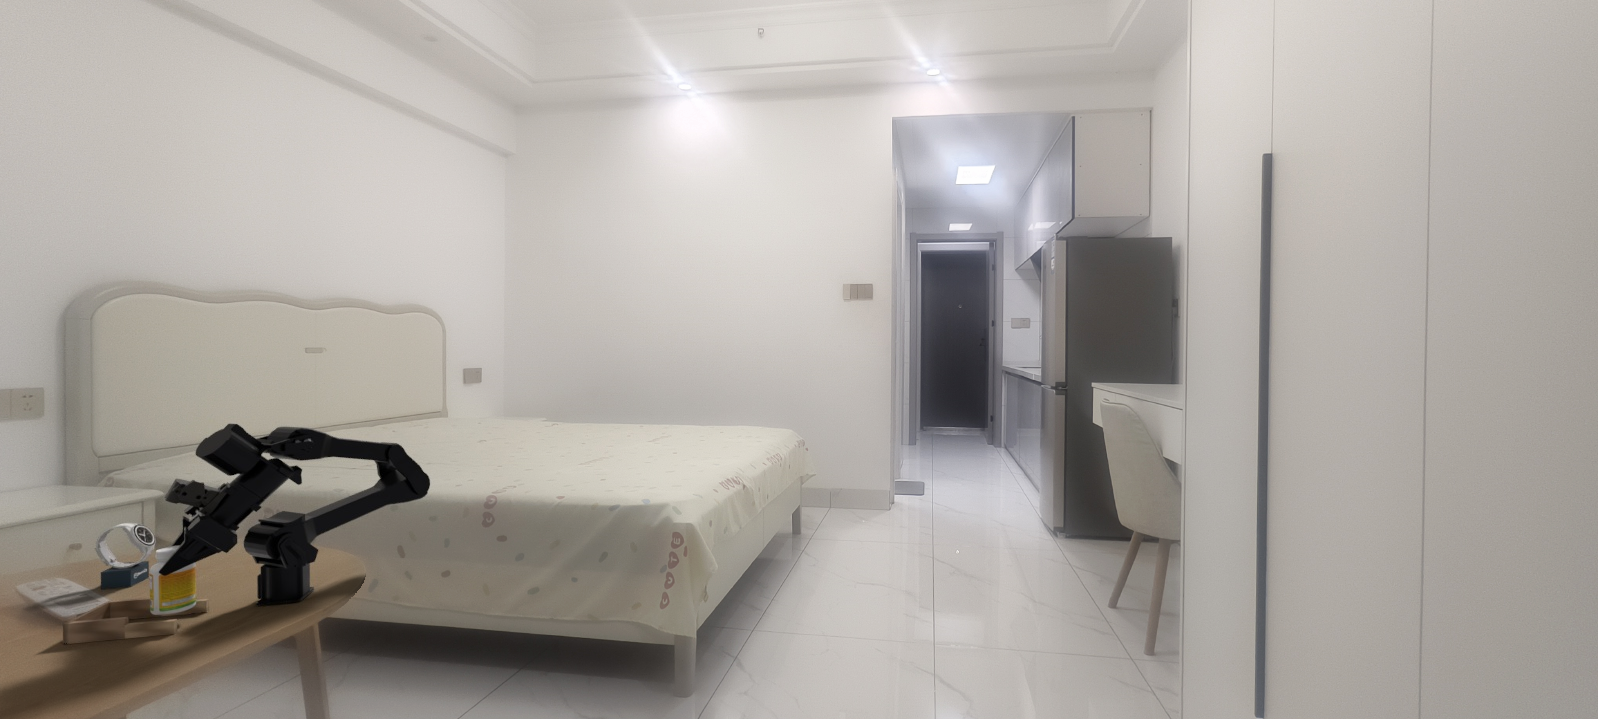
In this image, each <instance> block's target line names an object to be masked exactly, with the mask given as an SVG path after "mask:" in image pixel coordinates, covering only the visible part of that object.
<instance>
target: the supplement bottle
mask: <svg viewBox="0 0 1598 719" xmlns="http://www.w3.org/2000/svg"><path fill="white" fill-rule="evenodd" d="M179 546H180V545H178V546H171V545H169V546H166V547H162V548H159V549H157V550H155V560H156V561H157V562H156V563H155V564H153V565H152V566H150V568H149V598H150V611H151V613H152V614H154V615H166V614H173V613H178V612H182V611H185V610H188V609H190V608H192V607H194V606H195V605H196V600H197V580H196V579H197V575H196V570H197V569H196V568H197V566H196V562H195V563H193V564H191V565H188V566H186V567H184V568H182V569H180V570H177V571H175V572H173V573H171V574H169V575H166V576H163V575H161V574H160V573H159V570H160V569H161V568H162V567H163V565H164V564H165V563H166V562H167V560H168V559H169V558H170V557H171V556H172V555H173V553H174V552H175V551H176V550H177V549H178V547H179Z"/></svg>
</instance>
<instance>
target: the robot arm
mask: <svg viewBox="0 0 1598 719" xmlns="http://www.w3.org/2000/svg"><path fill="white" fill-rule="evenodd" d="M263 454H269V456H270V457H272V458H269V459H267V458H266V457H265V456H263ZM195 456H197V457H198V458H199V459H201V460H203V461H204V462H206V464H209V465H211V466H212V467H214V468H215V469H217V470H218V471H220V472H222V473H223V474H224V475H227V476H229V477H232V476H235V475H237V476H236V477H235V478H233V480H232V481H230V482H226V483H225V482H223V483H222V484H221V485H220V486H218V487H213V486H210V485H206V484H205V483H204V482H202V481H201V482H199V481H196V480H194V479H192V480H190V481H189V480H186V479H181V478H175V479H174V481H173V483H172V484H171V486H170V488H169V489H168V491H167V492H166V495H165V497H164V498H165V502H168V503H171V504H176V505H177V504H181V505H186V506H187V507H186V508H185V509H184V510H183V511H184V514H185V515H187V516H188V515H190V516H189V517H186V516H185V515H182V517H181V522H182V524H181V526H182V528H181V531H180V533H179V534H178V535H177V537H176V538H175V540H174V541H173V542H172V544H171V545H170V546H178V545H180V546H179V547H178V549H177V550H176V551H175V552H174V553H173V555H172V556H171V557H170V558H169V559H168V560H167V562H166V563H165V564H164V565H163V567H162V568H161V569H160V570H159V573H160V574H161V575H163V576H166V575H169V574H171V573H173V572H175V571H177V570H180V569H182V568H184V567H186V566H188V565H191V564H193V563H195V564H196V562H199V561H202V560H204V559H206V558H208V557H211V556H214V555H216V554H220V553H221V552H223V553H226V554H228V553H229V552H230V551H231V550H232V549H233V548H234V547H235V546H236V545H237V544H238V533H237V531H238V530H239V529H240V526H239V525H241V523H242V522H244V520H245V519H247V518H248V517H249V516H250V515H251V514H252V513H254V512H256V513H258V511H259V510H260V509H262V506H261V505H262V504H264V502H265V501H266V500H267V499H269V497H271V496H272V495H273V494H274V493H275V492H277V490H278V489H279V488H281V486H283V485H284V483H286V482H287V481H288V480H290V481H292V482H293V483H294V484H296V485H298V486H299V485H302V483H303V478H302V472H303V468H301V467H300V466H299V465H288V463H286V462H285V461H283V460H291V461H312V460H321V459H326V458H327V459H328V458H340V459H341V458H343V459H344V458H345V459H353V460H364V461H374V463H375V464H376V471H377V476H378V477H379V479H378V480H377V482H375V484H374V485H373V486H371V487H369V488H367V489H364V490H362V491H359V492H356V493H354V494H352V495H349V496H347V497H343V498H342V499H340V500H337V501H334V502H332V503H330V504H326V505H324V506H322V507H320V508H317V509H314V510H312V511H309V512H308V513H303V512H294V511H286V510H282V511H280V512H277V513H275V514H273V515H272V516H270V517H267V518H260V519H258V520H257V522H259V523H257V524H254V525H253V526H251V527H250V528H249V529H248V530H247V533H246V534H245V536H244V540H243V548H244V550H245V552H246V553H247V554H248V555H249V556H252V558H253V560H254V562H255V564H257V565H260V564H261V566H260V573H259V574H258V575H257V576H256V584H257V585H256V586H257V587H256V589H257V599H258V600H257V601H256V602H255V606H266V605H267V606H268V605H278V604H291V603H299V602H301V601H302V600H303V599H305V598H306V597H307V596H309V595H310V594H311V593H312V592H313V591H314V590H315V586H311V572H310V571H311V563H315V562H316V560H317V556H318V553H319V549H318V548H317V547H316V546H314V545H312V544H311V543H313V541H315V539H316V538H317V537H319V536H321V535H323V534H325V533H327V532H329V531H332V530H334V529H336V528H339V527H341V526H344V525H345V524H348V523H349V522H352V521H355V520H357V519H359V518H362V517H363V516H366V515H368V514H371V513H372V512H373V513H374V512H376V511H377V510H380V509H382V508H384V507H386V506H391V505H395V504H396V505H397V504H404V503H410V502H413V501H417V500H421V499H423V498H424V497H426V496H427V495H428V493H429V490H430V486H431V480H430V479H431V478H430V477H429V475H428V473H426V472H425V471H424V470H423V469H422V467H421V465H420V464H419V463H418V462H416V461H415V459H414V458H412V457H411V456H410V455H408V454H407V452H406V450H405V449H404V447H403V446H402V445H401V444H399V443H396V442H388V441H387V442H386V441H385V442H384V441H383V442H382V441H381V442H378V441H369V440H360V439H349V438H342V437H341V438H340V437H336V436H333V435H331V434H329V433H326V432H323V431H320V430H317V429H313V428H310V427H298V426H279V427H276V428H275V429H274V430H272V431H271V432H270V433H269V435H264V436H259V437H257V438H256V437H255V436H253V435H251V434H250V433H248V432H247V431H246V430H245V429H244V428H243V427H242V426H241V425H239V424H238V423H227V425H226V426H225V427H224V428H222V429H218V430H217V431H215V432H214V433H212V434H210V435H209V436H208V437H205V438H204V439H203V440H202V441H201V442H200V443H199V444H198V446H197V447H196V450H195Z"/></svg>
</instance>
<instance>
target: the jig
mask: <svg viewBox="0 0 1598 719" xmlns="http://www.w3.org/2000/svg"><path fill="white" fill-rule="evenodd" d="M207 611H208V612H210V599H209V598H201V599H196V605H195V606H194V607H192V608H190V609H188V610H185V611H182V612H178V613H173V614H166V615H154V614H152V613H151V611H150V597H140V598H130V599H129V598H128V599H118V600H117V599H115V600H107V601H105V602H104V603H102V604H100V605H98V606H95V607H93V608H92V609H90V610H88V611H86V612H83V613H82V614H80V615H78V616H76V617H74V618H72V619H70V620H68V621H66V622H65V623H63V624H62V645H71V644H82V643H90V642H91V643H92V642H103V641H112V640H115V641H116V640H125V639H126V640H127V639H134V638H144V637H154V636H156V637H157V636H167V635H174V634H176V633H178V619H177V618H174V619H161V620H150V621H140V622H138V621H137V622H130V623H129V620H136V619H146V618H147V619H148V618H159V617H160V618H161V617H170V616H172V617H173V616H182V615H192V614H191V613H195V614H202V613H201V612H207ZM208 612H207V613H208ZM64 643H65V644H64ZM66 643H67V644H66Z"/></svg>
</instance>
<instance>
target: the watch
mask: <svg viewBox="0 0 1598 719" xmlns="http://www.w3.org/2000/svg"><path fill="white" fill-rule="evenodd" d="M120 528H122V530H123V531H124V533H126V534H125V535H126V538H127V540H128V542H129V543H130V544H131V545H132V546H133V547H134V548H136V549H138V550H139V552H140V553H141V554H142V556H141V557H140V558H139V560H137V561H132V562H131V561H130V562H129V561H128V562H121V561H120V562H119V561H118V559H117V557H116V556H115V555H114V554H113V552H112V551H111V550H110V547H109V544H108V545H107V540H106V538H107V536H108V534H110V533H111V531H113V530H114V529H120ZM156 540H157V539H156V536H155V534H154V532H153V531H152V530H151V529H150V528H149V527H148V526H146V525H144V524H142V523H136V522H135V523H134V522H124V523H123V522H122V523H120V524H117V525H114V526H111V527H109V528H107V529H105V530H104V531H102V532H101V533H100V534H99V535H98V537H97V538H96V541H95V548H94V549H95V552H96V555H97V556H98V557H99V559H100V560H101V562H102V563H103V564H104V565H105V566H107V567H108V566H109V568H107V569H104V570H103V571H101V572H100V590H110V589H111V590H112V589H121V588H131V587H133V586H135V585H137V584H140V583H141V582H143V581H145V580H146V579H149V578H150V568H149V567H150V563H149V562H150V561H149V560H147V559H148V558H149V557H150V556H151V554H152V553H153V552H154V549H155V545H156V542H157V541H156Z"/></svg>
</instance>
